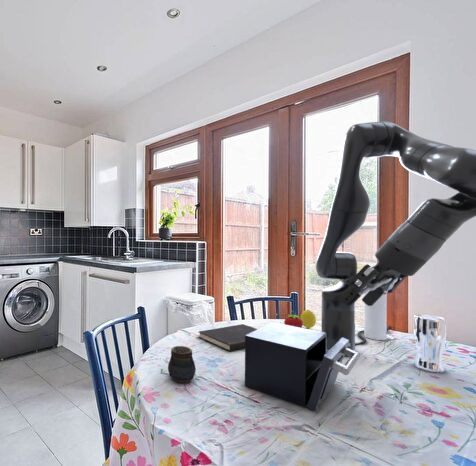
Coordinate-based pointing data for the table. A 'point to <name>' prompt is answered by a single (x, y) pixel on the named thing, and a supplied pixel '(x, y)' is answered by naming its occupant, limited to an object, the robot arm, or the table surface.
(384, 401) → the table surface
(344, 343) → the oven door
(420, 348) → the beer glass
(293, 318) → the strawberry
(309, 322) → the lemon
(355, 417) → the table surface
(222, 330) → the hardcover book
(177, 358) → the mate gourd
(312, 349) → the oven
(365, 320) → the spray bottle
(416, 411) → the table surface
